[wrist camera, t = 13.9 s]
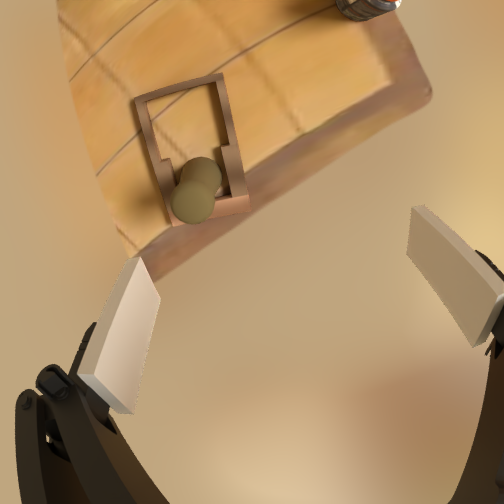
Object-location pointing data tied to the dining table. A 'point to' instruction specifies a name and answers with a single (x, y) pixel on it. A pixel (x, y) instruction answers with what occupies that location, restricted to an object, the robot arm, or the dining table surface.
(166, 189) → the keyhole board
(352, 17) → the pill bottle
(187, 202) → the olive rounded upright piece
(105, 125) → the dining table surface
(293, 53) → the dining table surface
